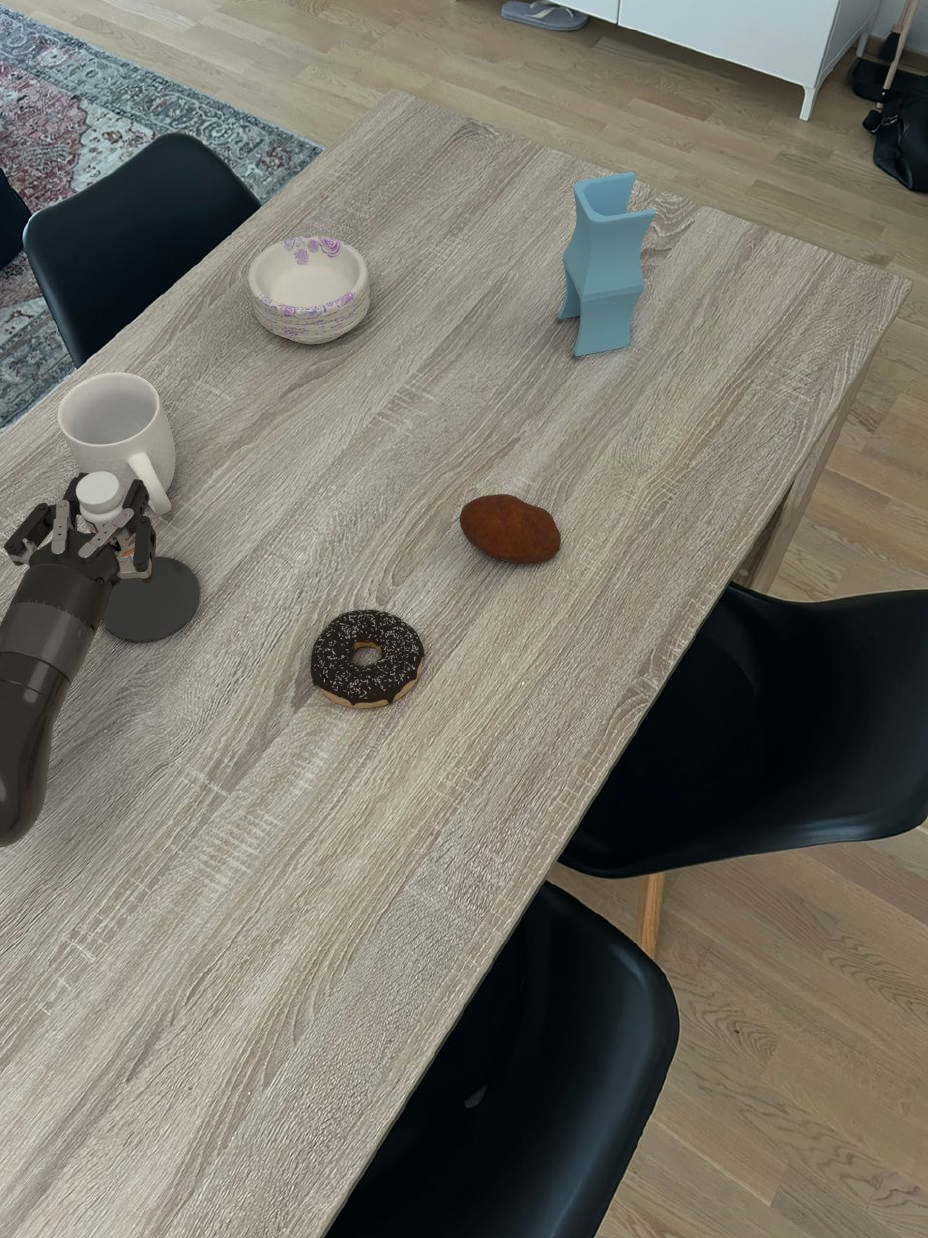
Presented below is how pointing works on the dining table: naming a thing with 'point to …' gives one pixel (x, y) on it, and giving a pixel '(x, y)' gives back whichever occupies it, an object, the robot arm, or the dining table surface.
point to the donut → (366, 681)
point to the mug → (121, 432)
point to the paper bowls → (309, 288)
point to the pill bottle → (101, 502)
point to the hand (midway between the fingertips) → (114, 481)
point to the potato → (510, 529)
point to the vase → (604, 263)
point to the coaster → (153, 603)
